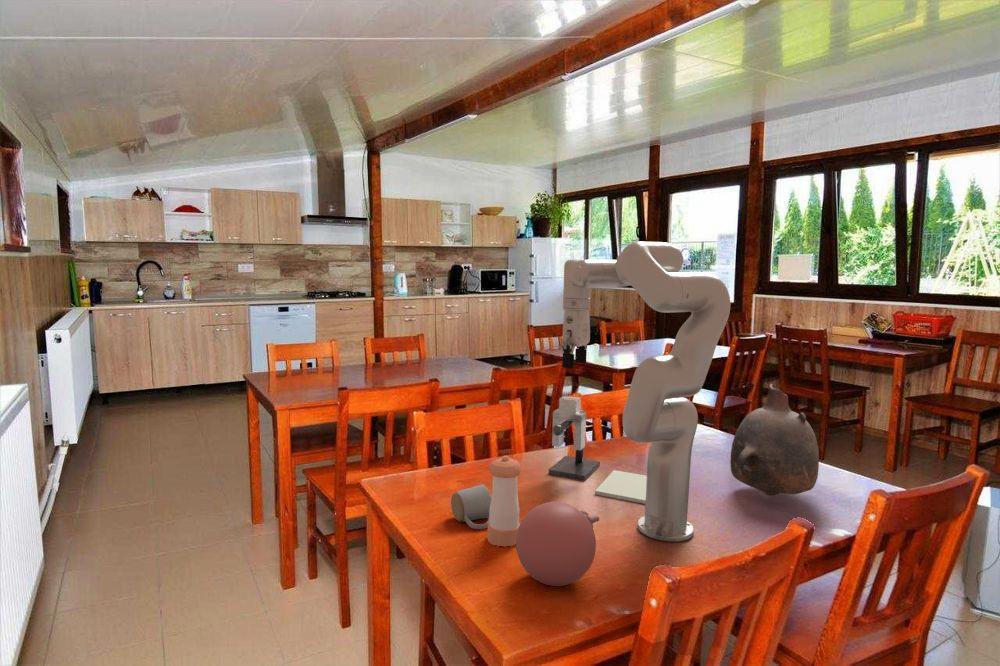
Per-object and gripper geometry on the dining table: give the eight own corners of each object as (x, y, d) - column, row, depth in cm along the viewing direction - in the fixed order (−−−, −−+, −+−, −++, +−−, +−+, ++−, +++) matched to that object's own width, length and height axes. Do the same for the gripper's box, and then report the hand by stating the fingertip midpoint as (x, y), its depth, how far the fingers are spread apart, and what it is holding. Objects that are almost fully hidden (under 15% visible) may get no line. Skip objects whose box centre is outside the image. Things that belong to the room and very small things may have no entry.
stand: (573, 492, 165) (575, 428, 162) (535, 485, 169) (537, 423, 167) (599, 466, 186) (601, 409, 183) (565, 460, 190) (567, 405, 188)
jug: (810, 521, 149) (820, 400, 145) (718, 501, 160) (726, 388, 157) (820, 490, 169) (829, 383, 166) (738, 474, 181) (745, 373, 177)
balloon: (627, 578, 121) (630, 503, 119) (551, 612, 109) (554, 529, 107) (573, 547, 133) (575, 479, 131) (499, 575, 121) (500, 501, 119)
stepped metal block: (580, 450, 172) (582, 401, 170) (552, 445, 175) (553, 397, 174) (585, 446, 175) (586, 398, 173) (557, 442, 179) (558, 395, 177)
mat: (663, 507, 156) (663, 503, 156) (595, 494, 164) (595, 490, 163) (676, 484, 172) (676, 480, 172) (613, 473, 180) (613, 470, 180)
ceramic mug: (448, 515, 149) (449, 485, 148) (479, 509, 153) (479, 480, 152) (467, 534, 140) (468, 502, 138) (499, 527, 143) (500, 495, 142)
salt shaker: (498, 529, 142) (499, 449, 139) (526, 537, 138) (528, 454, 136) (481, 541, 136) (482, 457, 133) (509, 550, 132) (511, 464, 129)
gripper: (578, 307, 161) (576, 371, 163) (599, 303, 176) (597, 362, 178) (551, 305, 164) (550, 368, 167) (574, 301, 180) (573, 359, 182)
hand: (574, 365), depth 173 cm, fingers open, 9 cm apart
